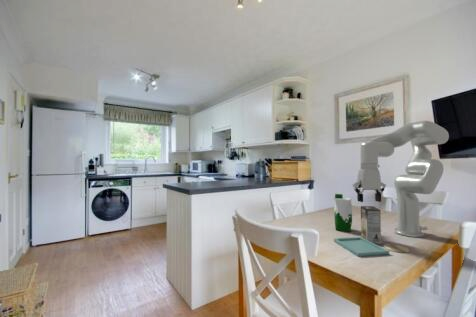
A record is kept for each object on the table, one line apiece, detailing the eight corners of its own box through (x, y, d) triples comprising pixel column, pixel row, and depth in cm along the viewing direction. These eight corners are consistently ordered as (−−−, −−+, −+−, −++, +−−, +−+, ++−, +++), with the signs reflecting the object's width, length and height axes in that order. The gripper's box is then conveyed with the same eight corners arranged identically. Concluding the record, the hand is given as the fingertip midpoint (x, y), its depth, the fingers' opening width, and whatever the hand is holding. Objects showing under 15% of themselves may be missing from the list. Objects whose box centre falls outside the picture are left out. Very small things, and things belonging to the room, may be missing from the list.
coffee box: (360, 236, 116) (360, 205, 117) (374, 237, 115) (373, 206, 115) (367, 243, 107) (366, 209, 108) (381, 243, 106) (381, 209, 106)
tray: (360, 239, 111) (360, 236, 111) (389, 254, 94) (389, 251, 94) (333, 241, 110) (333, 238, 110) (358, 256, 92) (358, 253, 92)
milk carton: (336, 226, 135) (335, 193, 135) (352, 228, 130) (352, 194, 130) (333, 230, 127) (333, 195, 128) (351, 232, 122) (350, 196, 123)
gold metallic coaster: (397, 244, 105) (396, 243, 105) (414, 252, 96) (414, 251, 96) (379, 245, 103) (379, 244, 103) (395, 253, 95) (395, 252, 95)
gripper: (379, 167, 117) (379, 200, 116) (348, 166, 114) (348, 200, 114) (390, 167, 109) (391, 202, 109) (358, 166, 107) (358, 203, 106)
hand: (369, 201), depth 111 cm, fingers open, 9 cm apart
